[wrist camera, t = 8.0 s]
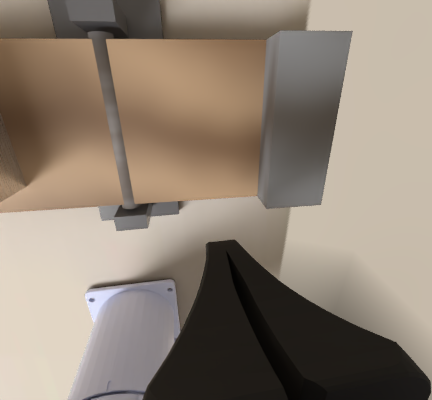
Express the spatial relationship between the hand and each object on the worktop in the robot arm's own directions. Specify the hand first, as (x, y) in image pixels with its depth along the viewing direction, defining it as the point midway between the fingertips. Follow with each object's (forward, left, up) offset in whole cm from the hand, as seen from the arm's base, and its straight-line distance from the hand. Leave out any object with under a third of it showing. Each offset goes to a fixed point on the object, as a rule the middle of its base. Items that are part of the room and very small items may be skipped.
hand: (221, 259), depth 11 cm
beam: (+5, +5, -6) cm, 10 cm away
